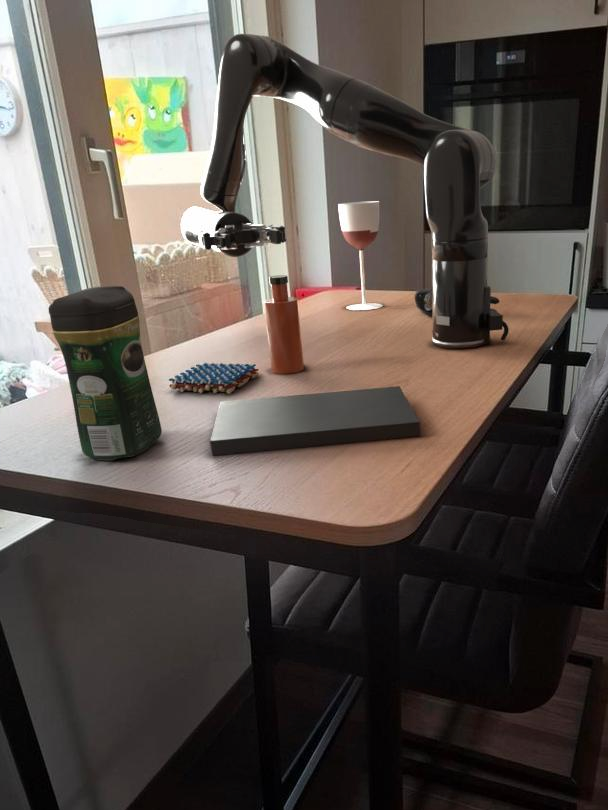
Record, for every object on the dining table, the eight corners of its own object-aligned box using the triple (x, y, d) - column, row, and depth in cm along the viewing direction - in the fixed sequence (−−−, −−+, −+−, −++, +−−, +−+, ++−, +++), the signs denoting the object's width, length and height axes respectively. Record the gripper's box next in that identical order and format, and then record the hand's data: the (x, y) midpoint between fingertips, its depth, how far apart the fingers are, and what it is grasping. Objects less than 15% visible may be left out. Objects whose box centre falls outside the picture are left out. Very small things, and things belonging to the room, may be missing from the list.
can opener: (409, 317, 144) (409, 290, 142) (420, 311, 150) (419, 284, 148) (494, 319, 138) (495, 290, 136) (502, 312, 144) (503, 284, 141)
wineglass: (389, 302, 162) (384, 200, 153) (376, 310, 154) (370, 203, 145) (353, 302, 165) (347, 202, 156) (339, 310, 156) (331, 205, 147)
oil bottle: (303, 364, 115) (294, 273, 109) (304, 372, 110) (295, 277, 104) (271, 366, 114) (261, 275, 109) (271, 375, 110) (260, 280, 104)
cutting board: (400, 398, 95) (399, 385, 94) (420, 436, 81) (420, 421, 80) (222, 414, 93) (220, 401, 92) (212, 455, 79) (209, 441, 79)
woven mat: (232, 395, 101) (230, 381, 100) (167, 392, 104) (165, 379, 103) (262, 375, 110) (260, 362, 109) (202, 373, 113) (200, 361, 112)
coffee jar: (114, 433, 89) (81, 282, 81) (172, 434, 87) (144, 280, 79) (70, 462, 80) (29, 297, 72) (133, 464, 78) (98, 295, 71)
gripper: (186, 214, 123) (207, 218, 110) (264, 208, 128) (293, 211, 115) (193, 259, 126) (214, 268, 113) (268, 251, 131) (297, 259, 118)
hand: (253, 239), depth 114 cm, fingers open, 8 cm apart
